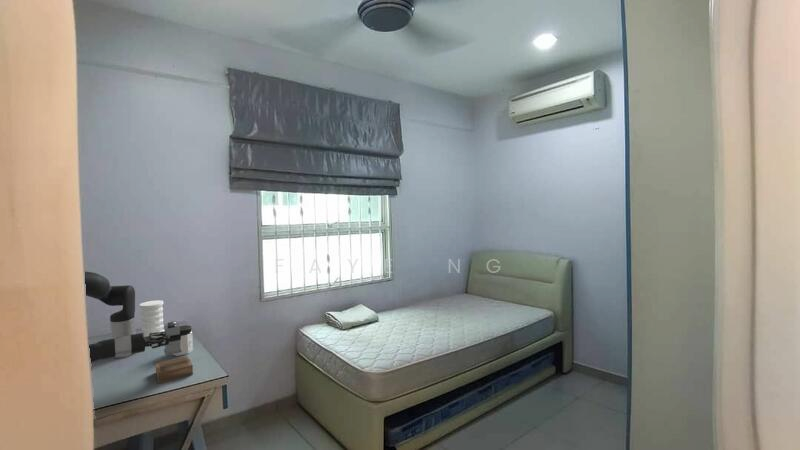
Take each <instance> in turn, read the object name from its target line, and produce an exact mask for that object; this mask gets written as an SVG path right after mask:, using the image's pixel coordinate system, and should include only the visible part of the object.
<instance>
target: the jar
mask: <svg viewBox="0 0 800 450" xmlns="http://www.w3.org/2000/svg"><path fill="white" fill-rule="evenodd" d="M179 326H180V335H181V340H180V348H181V352H180V353H176V354H171V355H172V356H176V357H179V356H187V355H189V354H190V353H191V352H193V351H194V342H193V336H194V335H193V331H192V326H190V325H187V324H185V325H179Z"/></svg>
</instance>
